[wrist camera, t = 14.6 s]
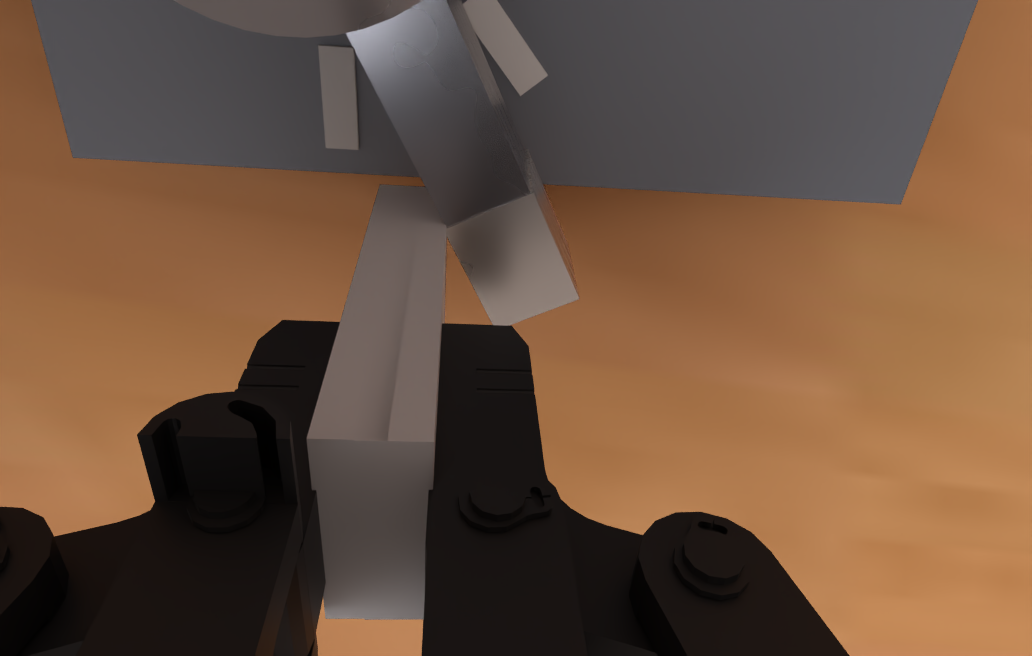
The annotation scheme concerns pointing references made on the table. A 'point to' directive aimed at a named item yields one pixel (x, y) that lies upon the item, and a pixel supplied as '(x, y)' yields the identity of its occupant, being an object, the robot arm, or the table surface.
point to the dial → (444, 136)
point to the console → (537, 91)
